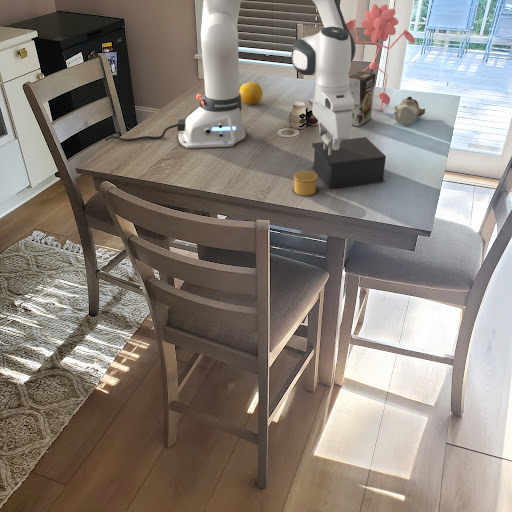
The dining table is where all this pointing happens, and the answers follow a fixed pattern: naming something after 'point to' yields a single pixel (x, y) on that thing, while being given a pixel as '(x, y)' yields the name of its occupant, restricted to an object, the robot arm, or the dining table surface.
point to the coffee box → (362, 96)
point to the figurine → (379, 34)
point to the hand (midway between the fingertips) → (329, 142)
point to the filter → (305, 182)
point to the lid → (347, 151)
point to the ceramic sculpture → (407, 111)
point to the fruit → (250, 93)
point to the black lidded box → (349, 172)
